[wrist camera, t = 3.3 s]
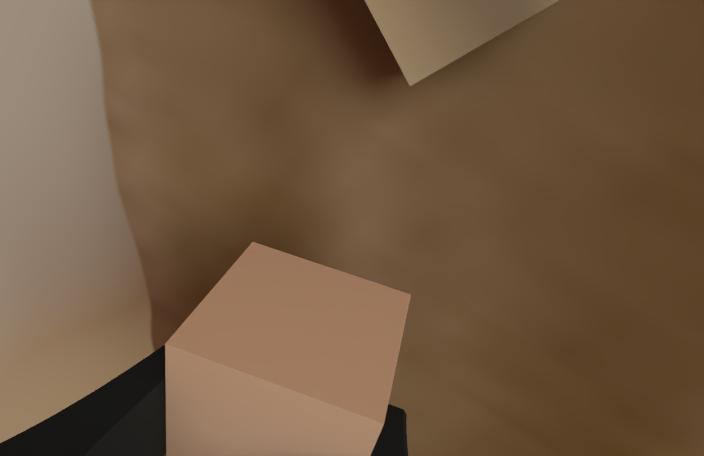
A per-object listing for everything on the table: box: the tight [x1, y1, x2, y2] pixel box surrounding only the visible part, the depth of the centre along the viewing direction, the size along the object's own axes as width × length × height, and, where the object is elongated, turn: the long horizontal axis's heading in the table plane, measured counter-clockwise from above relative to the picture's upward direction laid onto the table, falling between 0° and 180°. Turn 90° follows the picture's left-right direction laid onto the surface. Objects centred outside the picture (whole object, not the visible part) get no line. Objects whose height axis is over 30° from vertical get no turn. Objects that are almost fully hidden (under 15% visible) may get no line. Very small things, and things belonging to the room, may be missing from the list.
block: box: [165, 242, 411, 456], centre depth 11 cm, size 4×4×4 cm
